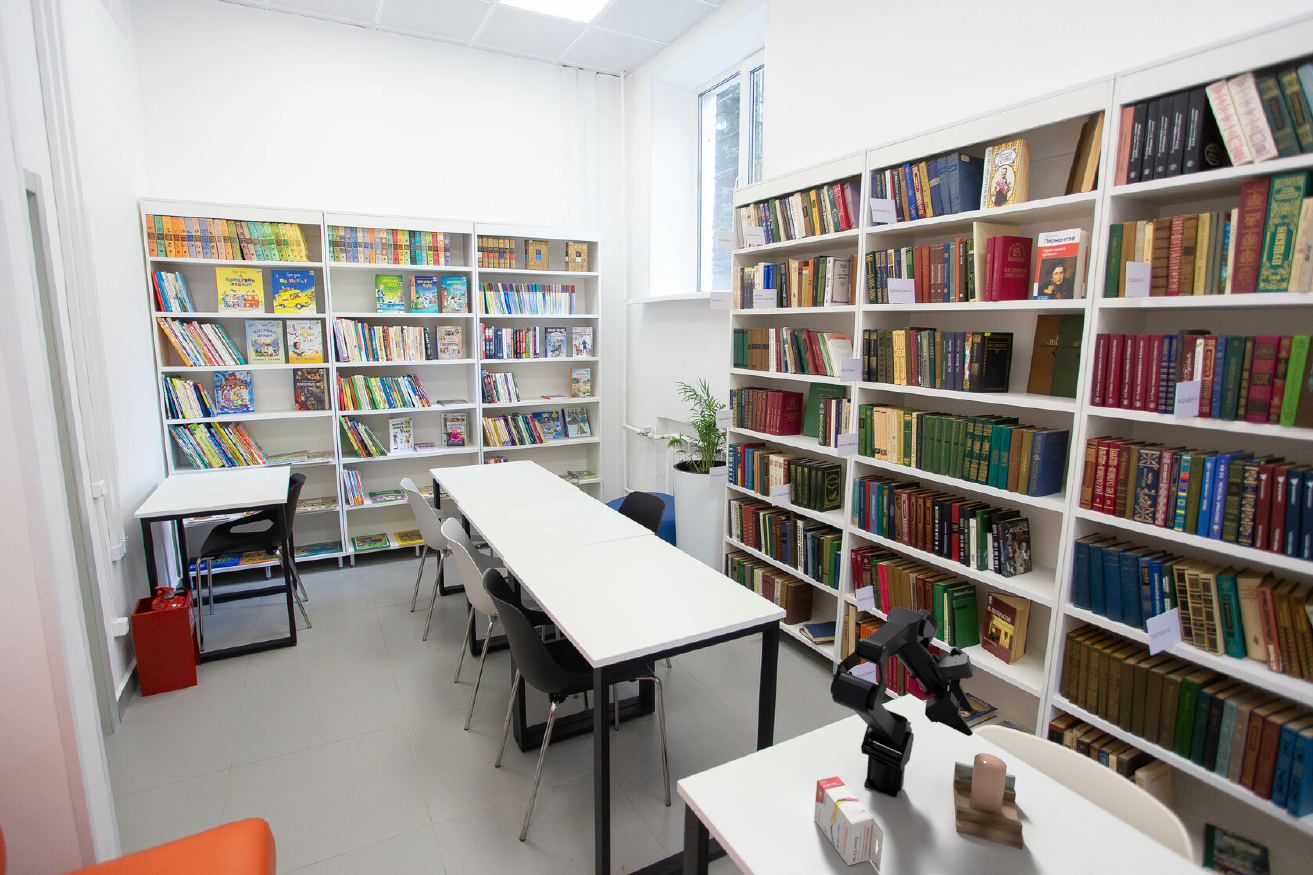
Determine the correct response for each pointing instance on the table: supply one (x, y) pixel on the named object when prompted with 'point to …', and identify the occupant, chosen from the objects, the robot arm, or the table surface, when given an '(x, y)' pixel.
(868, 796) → the table surface
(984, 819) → the walnut shelf
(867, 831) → the ink cartridge box
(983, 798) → the peach pink cylinder
